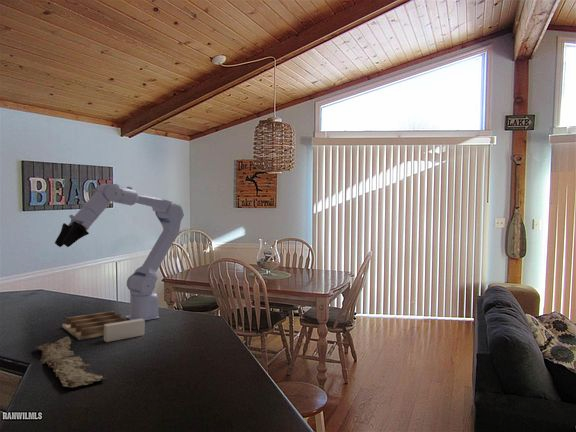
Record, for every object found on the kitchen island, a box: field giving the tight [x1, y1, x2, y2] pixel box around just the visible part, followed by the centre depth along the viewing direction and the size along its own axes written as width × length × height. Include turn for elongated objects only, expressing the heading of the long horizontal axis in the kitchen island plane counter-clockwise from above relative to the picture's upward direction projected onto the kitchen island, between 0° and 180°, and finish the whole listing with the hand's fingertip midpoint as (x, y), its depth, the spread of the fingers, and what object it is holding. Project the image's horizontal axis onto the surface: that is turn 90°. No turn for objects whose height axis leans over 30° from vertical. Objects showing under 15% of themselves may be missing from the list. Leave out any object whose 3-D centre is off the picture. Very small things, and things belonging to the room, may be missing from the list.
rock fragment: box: [35, 335, 107, 388], centre depth 120 cm, size 34×10×3 cm, turn 42°
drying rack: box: [61, 310, 128, 341], centre depth 152 cm, size 18×17×3 cm
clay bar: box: [103, 318, 146, 343], centre depth 144 cm, size 12×2×5 cm, turn 131°
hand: (61, 245), depth 143 cm, fingers open, 7 cm apart
